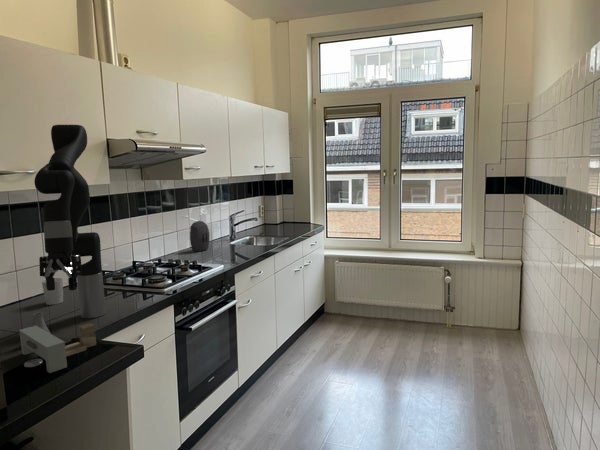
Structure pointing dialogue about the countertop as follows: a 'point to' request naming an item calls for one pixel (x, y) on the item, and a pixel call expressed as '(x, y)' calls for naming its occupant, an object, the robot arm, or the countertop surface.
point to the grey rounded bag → (199, 236)
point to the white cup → (54, 292)
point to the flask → (40, 321)
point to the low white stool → (44, 347)
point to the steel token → (33, 363)
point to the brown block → (82, 340)
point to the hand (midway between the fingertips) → (61, 290)
